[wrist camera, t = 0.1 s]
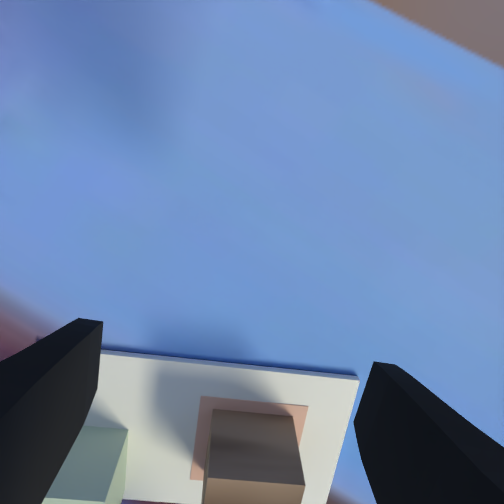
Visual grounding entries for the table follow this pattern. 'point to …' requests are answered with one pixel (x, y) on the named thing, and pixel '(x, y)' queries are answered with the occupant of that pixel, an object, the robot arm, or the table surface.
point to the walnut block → (252, 460)
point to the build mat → (200, 413)
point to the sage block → (92, 469)
